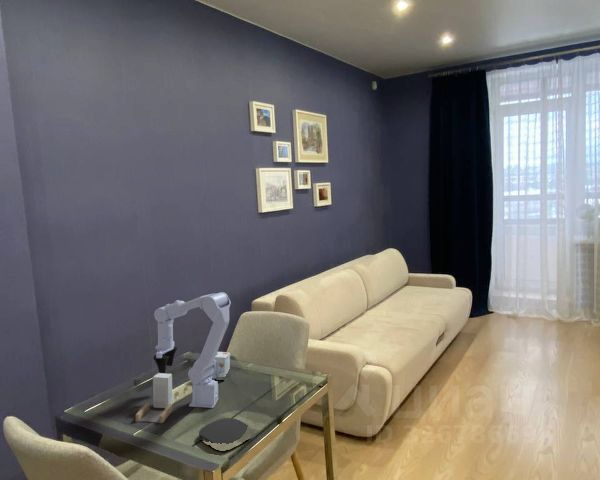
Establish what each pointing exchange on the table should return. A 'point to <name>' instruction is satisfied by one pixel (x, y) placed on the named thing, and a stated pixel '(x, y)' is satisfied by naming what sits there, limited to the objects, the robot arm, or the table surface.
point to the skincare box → (162, 390)
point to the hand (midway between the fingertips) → (166, 369)
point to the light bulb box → (222, 364)
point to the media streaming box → (223, 431)
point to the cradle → (152, 414)
